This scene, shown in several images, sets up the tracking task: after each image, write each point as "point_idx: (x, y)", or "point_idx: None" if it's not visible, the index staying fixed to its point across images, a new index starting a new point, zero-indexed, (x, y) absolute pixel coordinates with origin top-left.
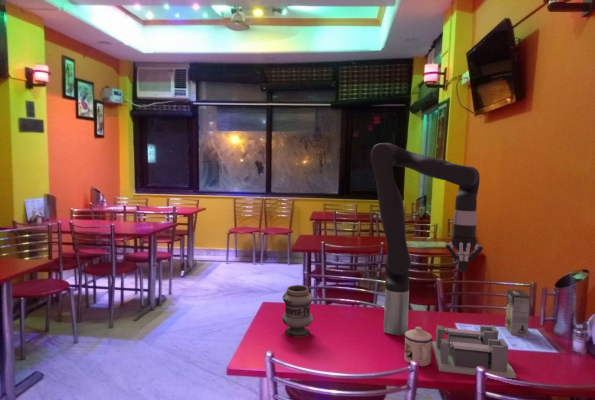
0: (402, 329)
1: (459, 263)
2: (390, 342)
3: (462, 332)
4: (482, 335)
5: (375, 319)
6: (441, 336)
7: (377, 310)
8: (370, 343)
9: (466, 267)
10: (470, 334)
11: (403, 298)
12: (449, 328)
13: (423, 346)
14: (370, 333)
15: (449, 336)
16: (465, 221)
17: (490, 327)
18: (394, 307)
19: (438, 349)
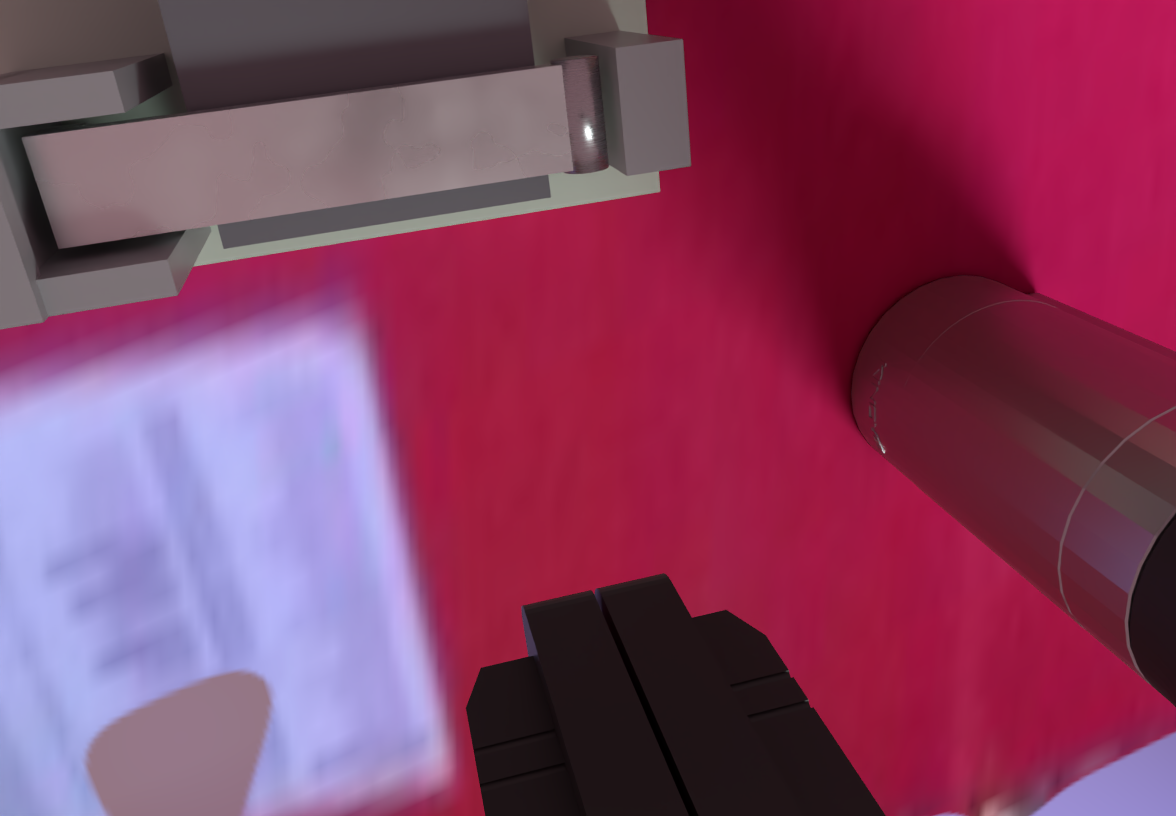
0: (924, 317)
1: (833, 771)
2: (1000, 102)
3: (392, 94)
4: (146, 118)
5: None
6: (616, 40)
7: (1047, 727)
8: (1164, 9)
9: (500, 733)
10: (295, 98)
11: (1148, 439)
12: (544, 169)
13: None
14: (1143, 235)
15: (532, 54)
16: None
17: (40, 278)
18: (1155, 360)
19: (607, 4)
